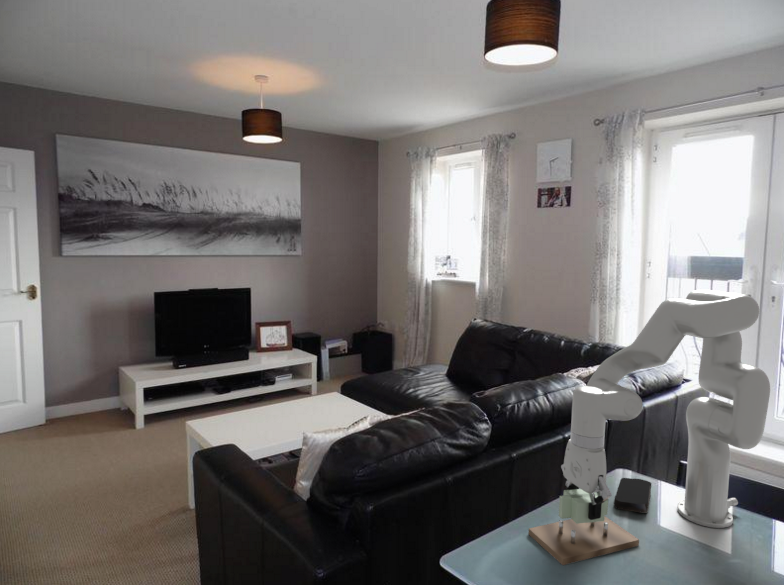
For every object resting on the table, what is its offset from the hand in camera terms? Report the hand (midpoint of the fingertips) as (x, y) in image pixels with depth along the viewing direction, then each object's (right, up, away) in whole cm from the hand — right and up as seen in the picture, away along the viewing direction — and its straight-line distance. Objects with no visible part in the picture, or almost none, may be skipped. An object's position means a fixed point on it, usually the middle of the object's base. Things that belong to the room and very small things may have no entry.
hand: (583, 509), depth 126 cm
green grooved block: (0, -1, 0) cm, 1 cm away
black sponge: (+21, -6, +20) cm, 30 cm away
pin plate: (0, -8, +1) cm, 8 cm away
